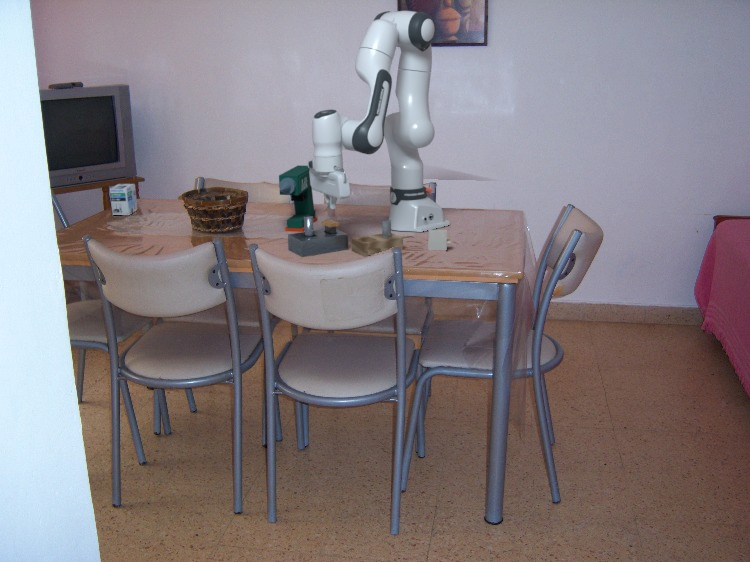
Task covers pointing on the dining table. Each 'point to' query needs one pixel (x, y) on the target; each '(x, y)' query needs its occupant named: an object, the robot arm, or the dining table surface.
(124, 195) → the light bulb box
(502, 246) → the dining table surface
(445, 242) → the pale grey square block
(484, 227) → the dining table surface
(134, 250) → the dining table surface
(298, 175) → the power tool
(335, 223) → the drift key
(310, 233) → the bit
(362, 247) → the rack
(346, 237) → the socket block
